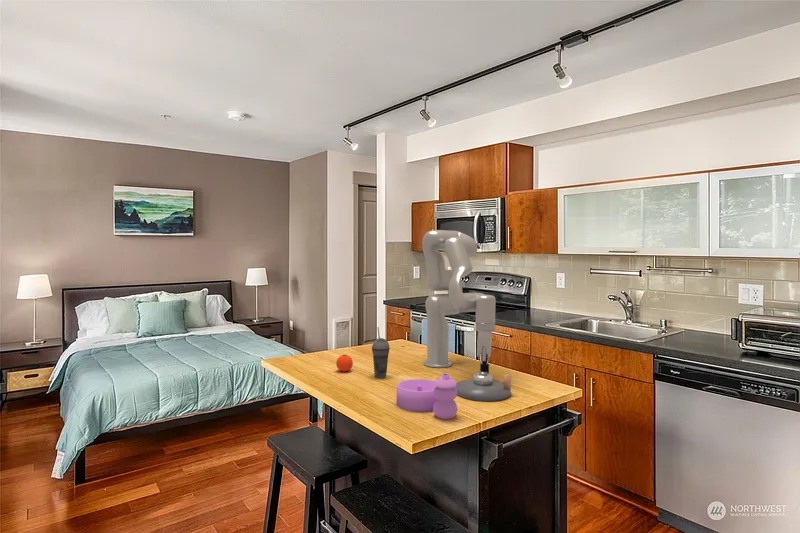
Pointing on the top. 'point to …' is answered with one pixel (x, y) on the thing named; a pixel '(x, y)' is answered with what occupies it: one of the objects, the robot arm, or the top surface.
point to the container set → (428, 396)
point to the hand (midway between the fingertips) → (484, 373)
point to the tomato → (344, 363)
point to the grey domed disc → (485, 390)
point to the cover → (483, 378)
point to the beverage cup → (380, 356)
